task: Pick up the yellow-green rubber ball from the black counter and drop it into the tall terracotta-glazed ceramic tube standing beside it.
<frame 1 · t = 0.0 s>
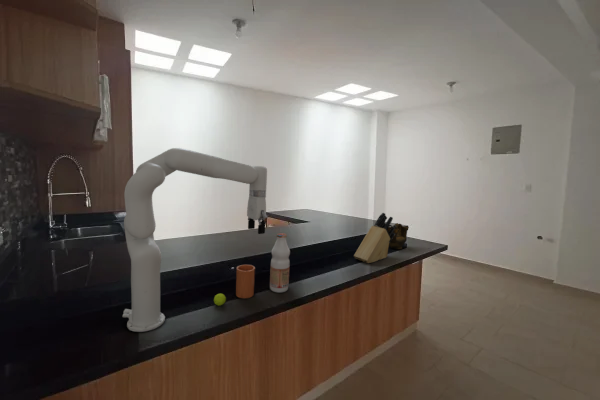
hand: (256, 231, 133), 31 cm above the counter, tool pointing down, fingers open, 9 cm apart
fruit juice: (278, 289, 146), on the counter
tube: (244, 294, 138), on the counter
pottery vessel: (395, 247, 233), on the counter
ball: (219, 299, 126), point 2 cm above the counter
knife block: (374, 258, 204), on the counter
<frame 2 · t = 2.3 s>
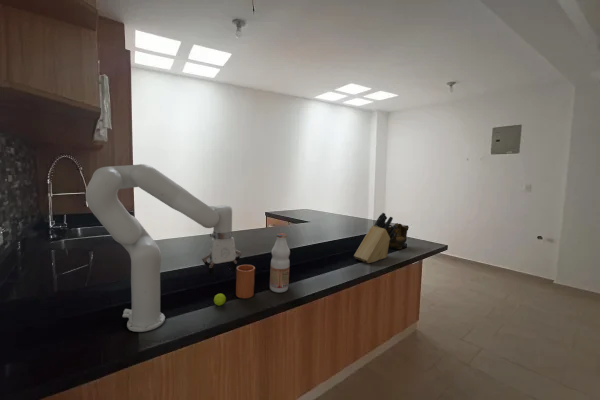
hand: (222, 273, 125), 14 cm above the counter, tool pointing down, fingers open, 9 cm apart
nothing on the counter moved.
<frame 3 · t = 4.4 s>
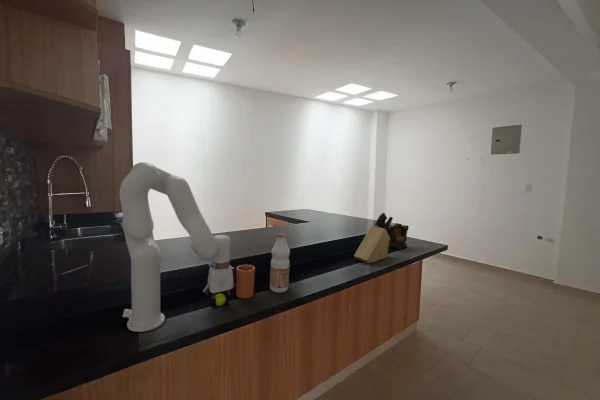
hand: (219, 304, 127), 0 cm above the counter, tool pointing down, fingers closed on ball, 4 cm apart
ball: (219, 299, 126), point 2 cm above the counter, touching gripper
everything else where it was.
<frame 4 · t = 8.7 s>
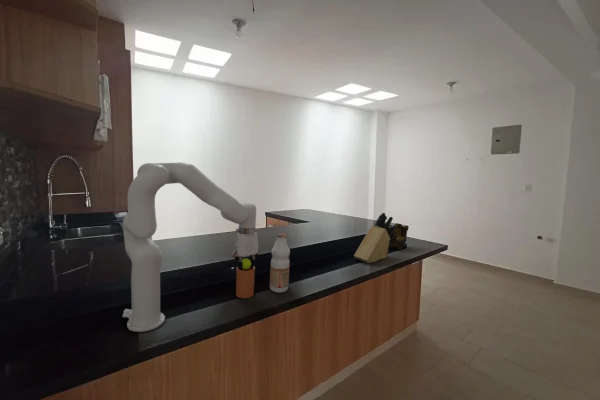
hand: (245, 268, 136), 13 cm above the counter, tool pointing down, fingers closed on ball, 4 cm apart
ball: (245, 263, 136), point 15 cm above the counter, touching gripper
everything else where it was.
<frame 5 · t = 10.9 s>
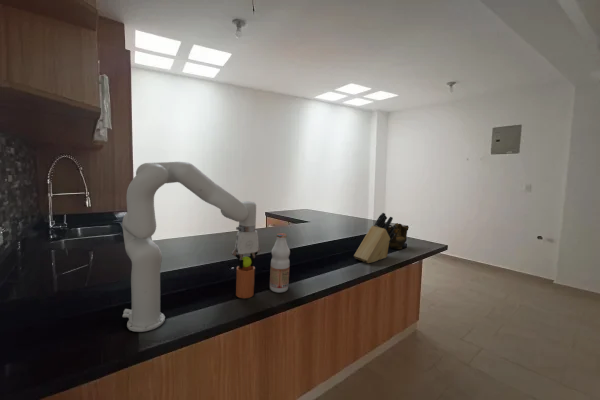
hand: (246, 266, 136), 14 cm above the counter, tool pointing down, fingers closed on ball, 4 cm apart
ball: (246, 261, 136), point 16 cm above the counter, touching gripper
everything else where it was.
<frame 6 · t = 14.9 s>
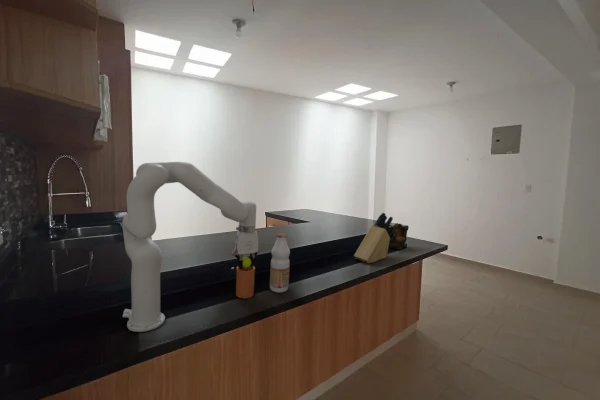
hand: (245, 266, 136), 14 cm above the counter, tool pointing down, fingers closed on ball, 4 cm apart
ball: (245, 262, 136), point 16 cm above the counter, touching gripper
everything else where it was.
when the fingers open (14 cm above the counter, at t = 17.6 s): ball drops 13 cm, resting on tube.
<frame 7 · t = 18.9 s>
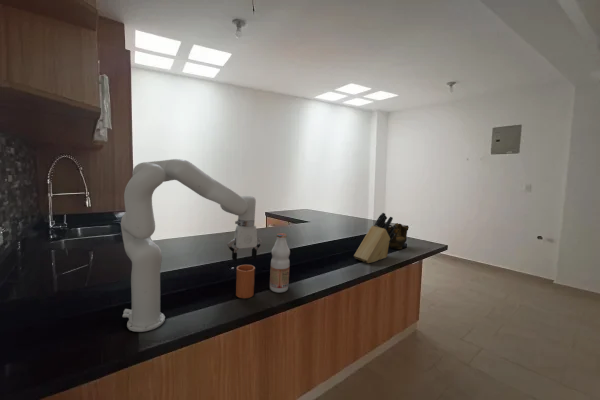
hand: (244, 258, 136), 17 cm above the counter, tool pointing down, fingers open, 9 cm apart
ball: (247, 287, 138), point 3 cm above the counter, tilted 28°, touching tube
everything else where it was.
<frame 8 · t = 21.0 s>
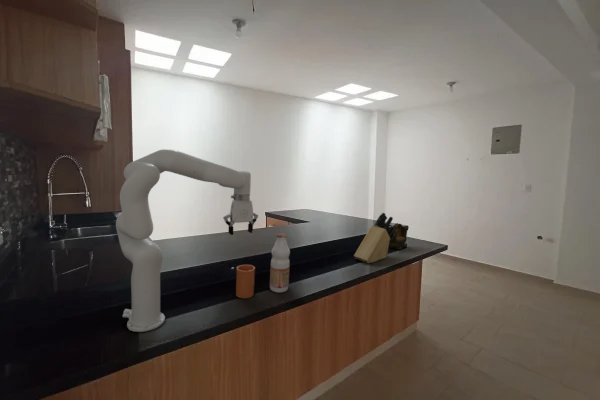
hand: (240, 233, 138), 28 cm above the counter, tool pointing down, fingers open, 9 cm apart
ball: (246, 287, 138), point 3 cm above the counter, tilted 19°, touching tube
everything else where it was.
at the end: ball 0.6 cm off-centre in the tube, point 3.1 cm above the tube's base; the gripper is holding nothing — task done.
